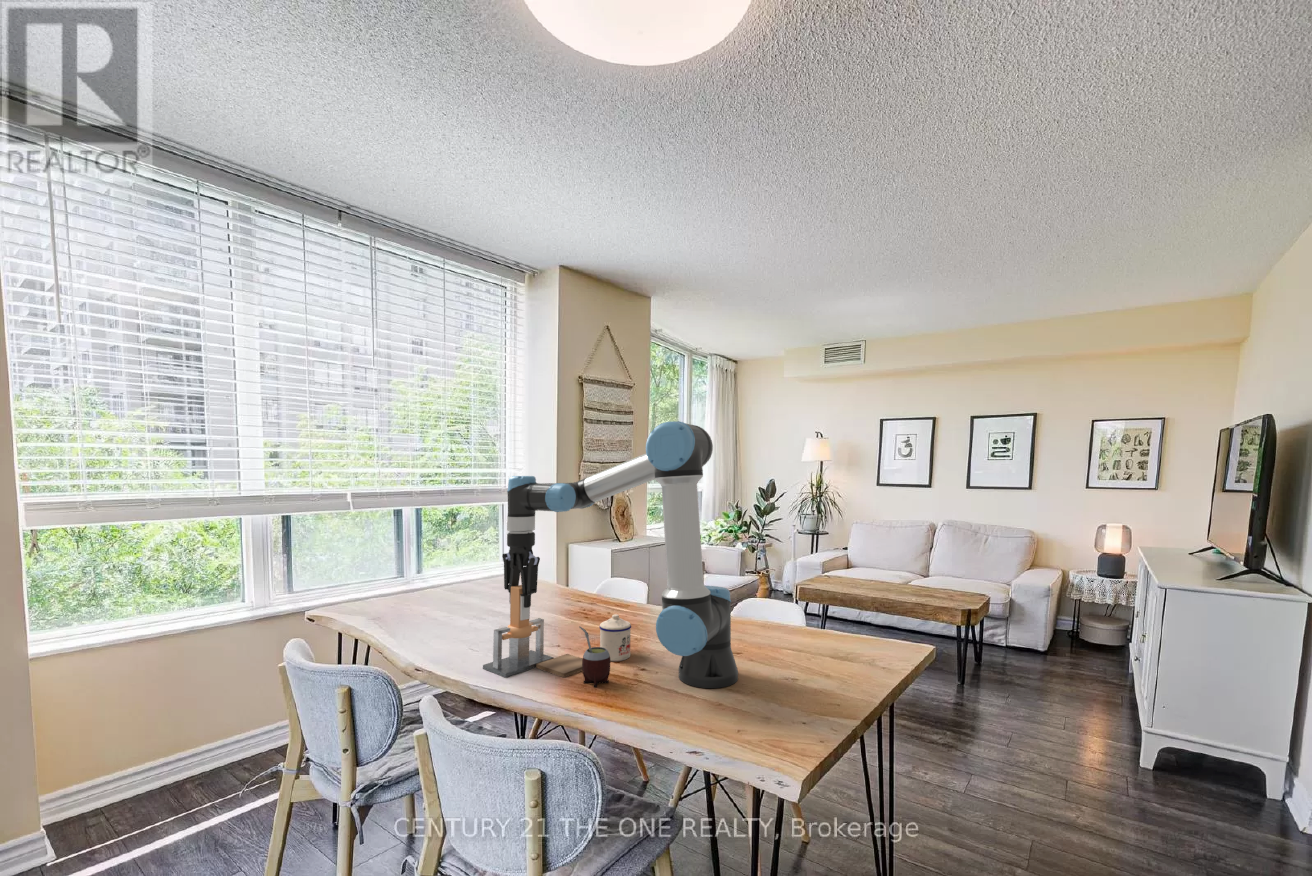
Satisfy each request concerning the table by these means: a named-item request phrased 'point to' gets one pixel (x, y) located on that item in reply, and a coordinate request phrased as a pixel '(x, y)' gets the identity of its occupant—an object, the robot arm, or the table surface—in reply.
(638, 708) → the table surface
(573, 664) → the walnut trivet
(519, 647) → the grey double hook stand
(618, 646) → the teacup with lid
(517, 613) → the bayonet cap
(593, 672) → the mate gourd
